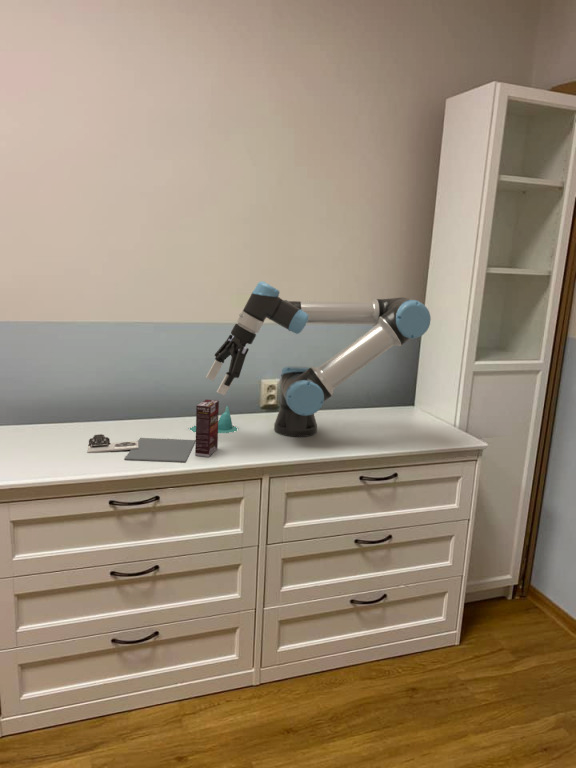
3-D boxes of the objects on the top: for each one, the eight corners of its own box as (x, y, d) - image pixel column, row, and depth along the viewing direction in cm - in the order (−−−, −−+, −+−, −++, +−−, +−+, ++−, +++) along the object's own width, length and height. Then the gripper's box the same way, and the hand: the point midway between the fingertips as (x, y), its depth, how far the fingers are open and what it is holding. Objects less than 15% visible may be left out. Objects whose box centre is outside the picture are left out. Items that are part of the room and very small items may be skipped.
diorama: (184, 425, 216) (184, 401, 215) (239, 424, 220) (240, 401, 218) (184, 435, 205) (184, 411, 203) (243, 434, 209) (244, 410, 207)
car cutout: (87, 453, 183) (86, 438, 182) (88, 446, 189) (87, 432, 188) (138, 449, 186) (137, 435, 185) (138, 442, 193) (137, 428, 192)
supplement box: (209, 457, 183) (210, 407, 180) (194, 455, 184) (195, 405, 181) (218, 448, 192) (219, 400, 188) (204, 447, 193) (204, 398, 189)
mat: (195, 441, 198) (195, 440, 198) (185, 462, 178) (185, 461, 178) (140, 439, 198) (140, 437, 197) (124, 460, 178) (124, 458, 178)
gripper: (225, 313, 200) (195, 369, 203) (248, 334, 179) (214, 395, 182) (244, 323, 204) (214, 377, 207) (269, 344, 182) (235, 404, 185)
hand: (214, 386), depth 194 cm, fingers open, 13 cm apart
